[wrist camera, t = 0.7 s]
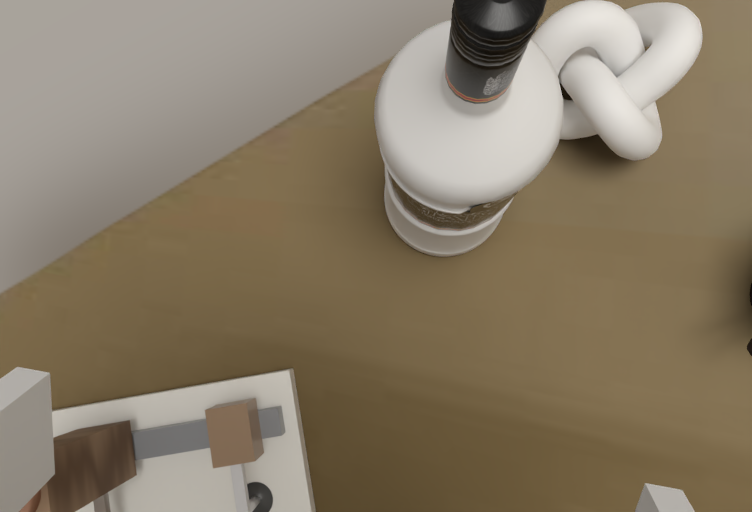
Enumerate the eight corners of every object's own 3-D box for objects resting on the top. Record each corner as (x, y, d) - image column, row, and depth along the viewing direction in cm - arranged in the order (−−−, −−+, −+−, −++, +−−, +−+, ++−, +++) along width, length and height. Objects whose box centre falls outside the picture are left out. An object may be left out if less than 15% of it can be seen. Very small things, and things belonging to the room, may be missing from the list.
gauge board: (318, 525, 44) (305, 553, 39) (-7, 577, 45) (-60, 611, 40) (293, 368, 45) (278, 375, 40) (-22, 423, 46) (-76, 436, 41)
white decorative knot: (694, 144, 45) (764, 103, 36) (551, 202, 45) (585, 175, 36) (633, 18, 46) (686, -52, 37) (494, 75, 46) (513, 19, 38)
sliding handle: (151, 525, 43) (48, 609, 31) (100, 533, 43) (-23, 620, 31) (137, 417, 44) (32, 457, 32) (86, 425, 44) (-38, 469, 32)
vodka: (480, 128, 46) (607, -209, 16) (517, 237, 45) (726, 91, 15) (370, 163, 46) (296, -105, 16) (405, 272, 45) (392, 197, 15)
